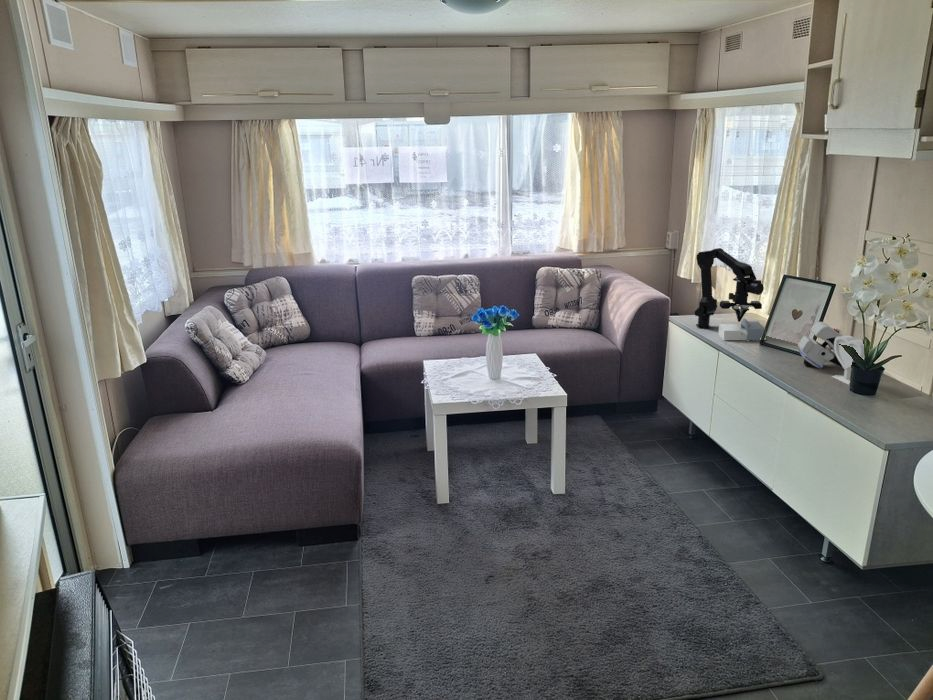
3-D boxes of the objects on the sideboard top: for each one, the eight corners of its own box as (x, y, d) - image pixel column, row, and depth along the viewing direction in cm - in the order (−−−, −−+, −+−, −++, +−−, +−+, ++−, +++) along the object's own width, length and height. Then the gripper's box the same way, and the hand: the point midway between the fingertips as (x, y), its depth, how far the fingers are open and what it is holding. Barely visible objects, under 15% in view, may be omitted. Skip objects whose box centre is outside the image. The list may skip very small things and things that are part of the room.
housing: (718, 333, 360) (719, 324, 358) (759, 334, 358) (760, 324, 356) (723, 340, 349) (724, 330, 347) (766, 341, 346) (767, 331, 345)
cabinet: (740, 332, 359) (741, 317, 357) (756, 332, 358) (758, 317, 356) (747, 340, 346) (748, 324, 344) (764, 340, 345) (765, 324, 343)
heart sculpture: (828, 374, 299) (833, 333, 293) (838, 373, 300) (844, 332, 294) (854, 387, 284) (860, 344, 279) (865, 386, 285) (871, 343, 280)
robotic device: (833, 386, 306) (868, 351, 299) (793, 358, 305) (827, 322, 299) (826, 378, 316) (859, 343, 309) (787, 351, 315) (819, 315, 308)
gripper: (757, 287, 353) (754, 317, 358) (718, 287, 355) (715, 317, 360) (763, 292, 343) (760, 323, 348) (723, 292, 345) (720, 323, 350)
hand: (738, 321), depth 352 cm, fingers closed
